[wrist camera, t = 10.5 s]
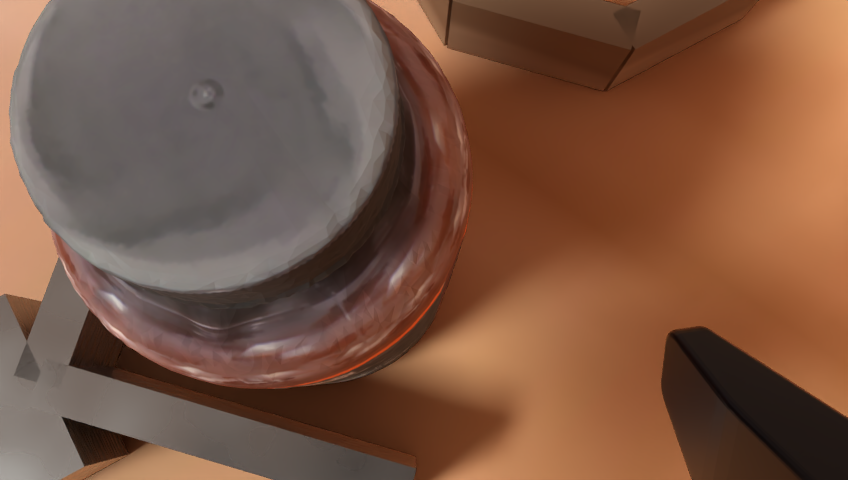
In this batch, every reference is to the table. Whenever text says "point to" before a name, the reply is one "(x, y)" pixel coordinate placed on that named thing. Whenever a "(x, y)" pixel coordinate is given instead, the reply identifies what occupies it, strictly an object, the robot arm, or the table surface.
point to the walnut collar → (580, 33)
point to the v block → (140, 408)
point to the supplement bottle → (245, 180)
